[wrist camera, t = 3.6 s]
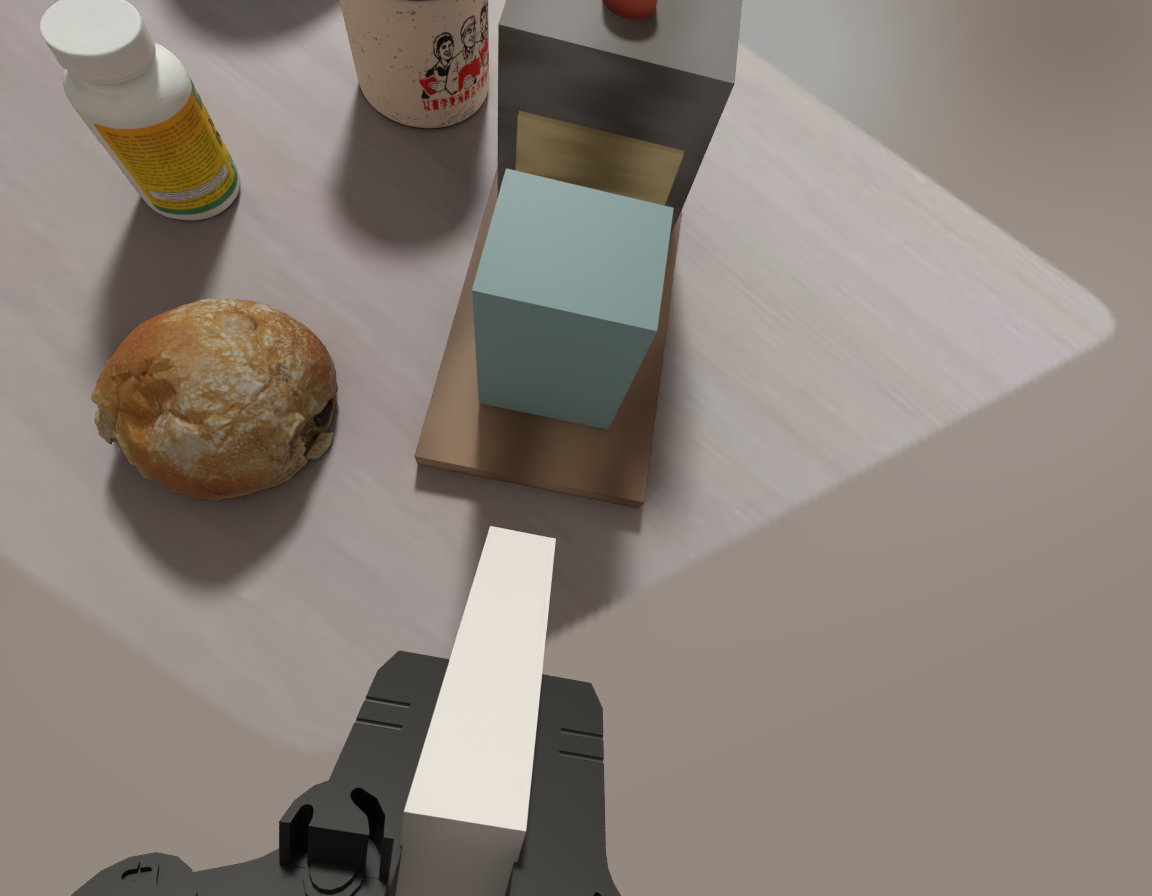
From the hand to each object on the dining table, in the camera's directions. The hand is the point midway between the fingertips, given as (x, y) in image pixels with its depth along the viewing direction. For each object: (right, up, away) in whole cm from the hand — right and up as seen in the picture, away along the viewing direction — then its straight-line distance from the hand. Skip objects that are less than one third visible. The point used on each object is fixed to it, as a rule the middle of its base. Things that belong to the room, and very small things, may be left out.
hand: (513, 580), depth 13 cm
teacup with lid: (-8, +29, +27) cm, 40 cm away
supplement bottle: (-21, +19, +21) cm, 35 cm away
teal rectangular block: (0, +8, +18) cm, 20 cm away
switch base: (+1, +11, +21) cm, 24 cm away
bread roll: (-16, +5, +17) cm, 24 cm away
